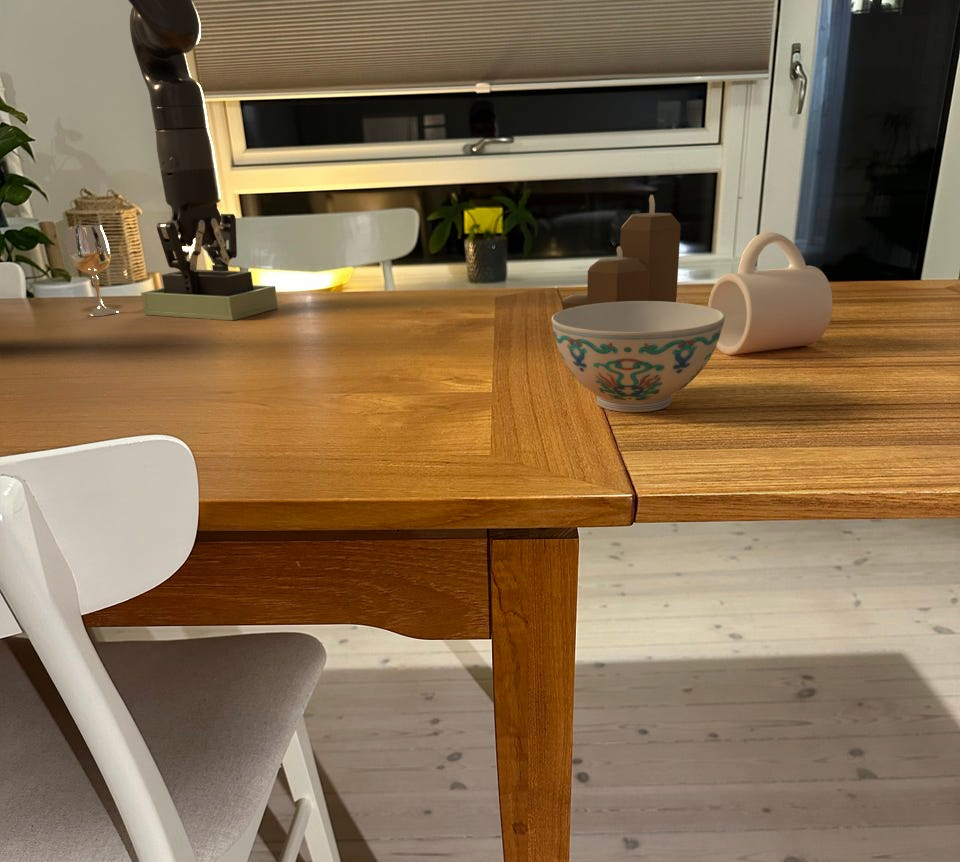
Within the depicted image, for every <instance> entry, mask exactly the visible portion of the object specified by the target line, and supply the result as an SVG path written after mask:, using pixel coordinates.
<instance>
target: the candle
mask: <svg viewBox="0 0 960 862" xmlns="http://www.w3.org/2000/svg"><path fill="white" fill-rule="evenodd" d="M648 202H649V208H648V209H649V210H648V212H644V213H632V214H631V215H630V216H629V218H627V220H626V221H625V222H624V223H623V224H622V226H621V228H620V235H619V237H620V238H619V239H620V241H619V246H617V247H616V249H615V251H616V257H605V258H600V259H598V260H596V261H595V262H594V263H593V264H592V265H590V266H589V268H588V270H587V290H586V291H587V292H583V293H573V294H570V295H567V296H565V297H564V299H563V300H562V306H561V307H562V308H561V309H562V310H565V309H569V308H573V307H578V306H583V305H590V304H598V303H609V302H626V301H662V302H677V294H678V279H679V278H678V277H679V261H680V247H681V246H680V244H681V243H680V242H681V231H682V229H681V228H682V227H681V223H680V222H679V221H678V220H677V219H676V217H675V216H674V215H673V214H672V213H671V212H656V211H655V210H656V208H655V207H656V202H655V198H654V195H653V194H650V195H649V198H648ZM562 310H561V311H562Z"/></svg>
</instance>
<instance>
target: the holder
mask: <svg viewBox="0 0 960 862" xmlns="http://www.w3.org/2000/svg"><path fill="white" fill-rule="evenodd" d="M253 289H254V290H253V291H249V292H245V293H241V294H237V295H232V296H213V295H193V294H174V293H165V290H164V287H162V288H157V289H156V288H155V289H152V290H147V291H142V292H140V295H141V300H142V305H143V310H144V315H145V316H155V317H156V316H158V317H171V318H189V319H202V320H203V319H204V320H219V321H233V322H234V321H236V320H241V319H243V318H248V317H250V316H251V317H252V316H254V315H259V314H261V313H262V314H263V313H266V312H269V311H274V310H276V309H279V305H278V297H277V288H276V286H275V285H258V284H253Z"/></svg>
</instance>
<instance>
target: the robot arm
mask: <svg viewBox="0 0 960 862" xmlns="http://www.w3.org/2000/svg"><path fill="white" fill-rule="evenodd" d="M128 2H129V3H130V5H131V6H132V7H131V11H130V14H129V31H130V32H129V33H130V38H131V44H132V47H133V51H134V54H135V57H136V60H137V64H138V66H139V69H140V72H141V76H142V78H143V81H144V83H145V85H146V88H147V91H148V94H149V100H150V101H149V102H150V108H151V113H152V118H153V125H154V130H155V141H156V144H155V145H156V153H157V158H158V165H159V169H160V175H161V181H162V186H163V192H164V198H165V202H166V205H168V206H170V207H171V220H168V221H167V222H157V224H156V230H157V233H158V234H157V235H158V238H159V240H160V243H161V246H162V250H163V253H164V256H165V259H166V262H167V265H168V267H169V268H170V269H176V270H178V271H181V273H182V277H183V283H184V289H185V293H186V294H193V295H202V294H201V288H200V282H199V274H198V271H195V270H197V269H198V258H199V256H200V255H201V254H202V253H201V252H202V249H203V250H204V251H206V252H207V254H208V256H209V258H210V260H211V263H212V265H211V269H212V270H220V271H230V270H229V264H230V261H231V260H232V259H235V258H237V255H238V246H237V219H236V215H235V214H234V213H221V211H220V209H219V207H218V203H220V202H221V200H222V196H221V195H222V194H221V189H220V188H221V187H220V183H219V176H218V169H217V168H218V167H217V163H216V162H217V161H216V156H215V149H214V145H213V140H212V137H211V134H210V129H209V122H208V116H207V109H206V103H205V97H204V93H203V89H202V87H201V85H200V83H199V82H197V81H196V80H194V79H193V77H192V76H191V73H190V70H189V66H188V62H187V58H186V54H188V53H190V52H192V51H193V50H194V49H195V48H196V47H197V46H198V44H199V41H200V39H201V32H202V31H201V30H202V29H201V21H200V17H199V14H198V12H197V9H196V7H195V4H194V3H193V1H192V0H128ZM227 241H228V248H227Z"/></svg>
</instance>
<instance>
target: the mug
mask: <svg viewBox="0 0 960 862" xmlns="http://www.w3.org/2000/svg"><path fill="white" fill-rule="evenodd" d="M770 244H776V245H777V246H778V247H779V248H780V249H781V250H782V252H783V254H784V255H785V256H786V259H787V261H788V263H789V265H788V267H784V268H783V267H782V268H781V267H780V268H771V269H761V270H755V267H756V264H757V261H758V258H759V256H760V255H761V253H762V252H763V250H764V249H765V248H766V247H767V246H768V245H770ZM805 261H806V260H805V259H804V256H803V255H802V252H801V251H800V249H799V248H798V247H797V246H796V245H795V243H794V242H793V241H792V240H790V239H789V238H788V237H786V236H785V235H783V234H780V233H778V232H773V231H766V232H761V233H759V234H757V235H755V236H754V237H753V238H752V239H751V240H750V241H749V242H748V244H747V245H746V247H745V248H744V250H743V253H742V255H741V258H740V262H739V265H738V271H737V272H731V273H730V272H729V273H726V274H724V275H722V276H721V277H720V278H718V280H717V281H716V282H715V283H714V285H713V287H712V289H711V291H710V294H709V298H708V302H707V307H711V308H714V309H717V310H719V311H721V312H722V313H723V314H724V315H725V319H724V324H723V328H722V331H721V334H720V337H719V340H718V342H717V345H716V347H715V348H716V349H717V350H718V351H720V352H721V353H723V354H724V355H728V356H733V355H734V356H735V355H742V354H750V353H757V352H765V351H774V350H781V349H782V350H783V349H788V348H796V347H804V346H811V345H813V344H815V343H817V342H818V341H819V340H820V339H822V337H823V336H824V335H825V333H826V331H827V329H828V327H829V325H830V323H831V318H832V315H833V305H834V303H833V300H834V299H833V292H832V289H831V288H832V287H831V285H830V282H829V280H828V278H827V276H826V275H825V273H824V272H823V271H822V270H821V269H820V268H819V267H816V266H814V265H813V266H812V265H806V262H805Z"/></svg>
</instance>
